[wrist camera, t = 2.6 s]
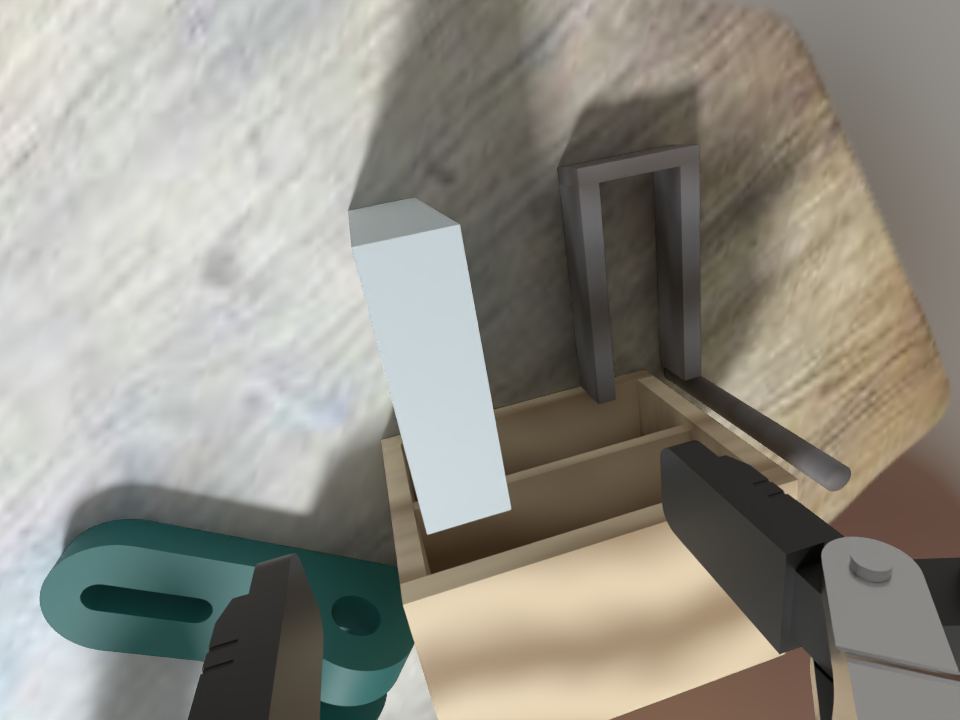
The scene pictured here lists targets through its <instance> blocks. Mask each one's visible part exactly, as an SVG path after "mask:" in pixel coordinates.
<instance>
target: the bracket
mask: <svg viewBox="0 0 960 720" xmlns="http://www.w3.org/2000/svg"><path fill="white" fill-rule="evenodd" d="M293 553H296V554H297V555H298V557H299V558H300V561H301V563H302V566H303V568H304V571H305V574H306V576H307V579H308V582H309V584H310V587H311V590H312V592H313V595H314V597H315V600H316V603H317V605H318V608H319V611H320V615H321V620H322V626H323V661H322V681H321V701H320V720H378V718H379V716H380V714H381V712H382V710H383V707H384V705H385V701H386V697H387V692H388V691H389V690H390V689H391V688H392V687H393V685H394V684H395V682H396V681H397V679H398V676H399V674H400V672H401V670H402V668H403V666H404V664H405V662H406V660H407V658H408V656H409V654H410V652H411V650H412V648H413V645H414V640H413V636H412V633H411V630H410V627H409V623H408V620H407V617H406V614H405V610H404V607H403V602H402V595H401V587H400V580H399V572H398V567H396V566H390V565H385V564H380V563H374V562H369V561H363V560H358V559H352V558H347V557H342V556H336V555H331V554H325V553H320V552H315V551H309V550H304V549H298V548H293V547H288V546H282V545H277V544H271V543H266V542H260V541H255V540H250V539H244V538H239V537H233V536H228V535H223V534H217V533H212V532H206V531H201V530H196V529H190V528H185V527H179V526H174V525H168V524H163V523H158V522H152V521H146V520H137V519H124V520H115V521H110V522H106V523H102V524H99V525H97V526H94V527H92V528H90V529H88V530H86V531H85V532H83V533H81V534H80V535H79V536H77V537H76V538H75V539H74V540H73V541H72V542H71V543H70V544H69V546H68V547H67V548H66V550H65V551H64V553H63V554H62V555H61V557H60V558H59V560H58V561H57V562H56V564H55V565H54V567H53V568H52V570H51V571H50V572H49V574H48V575H47V577H46V579H45V580H44V582H43V585H42V587H41V591H40V606H41V610H42V613H43V615H44V617H45V619H46V621H47V622H48V623H49V625H50V626H51V627H52V628H53V629H54V630H55V631H56V632H57V633H59V634H60V635H61V636H63V637H64V638H66V639H68V640H69V641H71V642H73V643H76V644H78V645H81V646H84V647H87V648H92V649H97V650H104V651H113V652H122V653H132V654H141V655H150V656H160V657H169V658H179V659H188V660H197V661H205V657H206V654H207V653H209V649H208V647H209V643H210V640H211V636H212V633H213V629H214V626H215V623H216V621H217V620H218V618H219V617H220V616H221V614H222V613H223V611H224V610H225V608H226V607H227V606H228V604H229V603H230V601H231V600H232V598H236V597H239V596H242V595H246V594H249V590H250V586H251V581H252V577H253V572H254V569H255V566H256V565H257V564H258V563H261V562H265V561H268V560H272V559H275V558H279V557H282V556H286V555H289V554H293Z"/></svg>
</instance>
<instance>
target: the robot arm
mask: <svg viewBox="0 0 960 720" xmlns="http://www.w3.org/2000/svg"><path fill="white" fill-rule="evenodd" d="M660 466H661V489H662V507H663V512H664V515H665V518H666V520H667V523H668V525H669V526H670V528H671V530H672V531H673V533H674V534H675V535H676V536H677V537H678V538H679V540H680V541H681V542H682V543H683V544H684V545H685V547H686V548H687V549H688V550H689V551H690V552H691V553H692V555H693V556H694V557H695V558H696V559H697V560H698V561H699V563H700V564H701V565H702V566H703V567H704V568H705V569H706V571H707V572H708V573H709V574H710V575H711V576H712V577H713V579H714V580H715V581H716V582H717V583H718V584H719V586H720V587H721V588H722V589H723V590H724V591H725V592H726V594H727V595H728V596H729V597H730V598H731V599H732V600H733V602H734V603H735V604H736V605H737V606H738V607H739V608H740V610H741V611H742V612H743V613H744V614H745V615H746V616H747V618H748V619H749V620H750V621H751V622H752V623H753V625H754V626H755V627H756V628H757V629H758V630H759V631H760V633H761V634H762V635H763V636H764V637H765V638H766V639H767V641H768V642H769V643H770V644H771V645H772V646H773V647H774V649H775V650H776V651H777V652H778V653H779V654H782V653H785V652H787V651H790V650H793V649H796V648H799V647H802V648H803V649H804V650H805V651H806V652H807V653H808V654H809V655H810V656H811V662H810V672H811V681H812V690H813V699H814V707H815V716H816V720H960V558H938V559H937V558H936V559H911V558H910V557H909V556H908V555H906V554H905V553H904V552H902V551H900V550H898V549H897V548H895V547H893V546H890V545H888V544H886V543H883V542H880V541H877V540H873V539H868V538H863V537H844V536H843V535H841V534H840V533H839V532H838V531H836V530H835V529H834V528H832V527H831V526H830V525H828V524H827V523H826V522H824V521H823V520H822V519H820V518H819V517H818V516H817V515H815V514H814V513H813V512H811V511H810V510H809V509H807V508H806V507H805V506H803V505H802V504H801V503H799V502H798V501H797V500H795V499H794V498H793V497H792V496H790V495H789V494H785V493H784V490H782V489H781V488H780V487H778V486H777V485H776V484H774V483H773V482H769V480H768V478H767V477H765V476H764V475H763V474H761V473H760V472H759V471H757V470H756V469H755V468H753V467H752V466H751V465H749V464H747V463H744V462H742V461H739V460H737V459H734V458H732V457H729V456H727V455H724V456H721V457H718V456H717V455H716V454H715V453H713V452H712V451H711V450H710V449H708V448H707V447H706V446H705V445H703V444H702V443H701V442H699V441H697V440H692V441H688V442H685V443H681V444H678V445H674V446H671V447H667V448H664V449H663V450H662V451H661V454H660ZM208 649H209V653H207V654H206V657H205V661H204V664H203V668H202V670H203V674H201V675H200V678H199V682H198V685H197V689H196V692H195V696H194V700H193V703H192V707H191V710H190V714H189V717H188V720H320V701H321V681H322V661H323V626H322V620H321V615H320V611H319V608H318V605H317V603H316V600H315V597H314V595H313V592H312V590H311V587H310V584H309V582H308V579H307V576H306V574H305V571H304V568H303V566H302V563H301V561H300V558H299V557H298V555H297V554H296V553H293V554H289V555H286V556H282V557H279V558H275V559H272V560H268V561H265V562H261V563H258V564H257V565H256V566H255V569H254V572H253V577H252V581H251V586H250V590H249V594H246V595H242V596H239V597H236V598H232V600H231V601H230V603H229V604H228V606H227V607H226V608H225V610H224V611H223V613H222V614H221V616H220V617H219V618H218V620H217V621H216V623H215V626H214V629H213V633H212V636H211V640H210V643H209V647H208Z"/></svg>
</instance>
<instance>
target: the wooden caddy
mask: <svg viewBox="0 0 960 720" xmlns="http://www.w3.org/2000/svg"><path fill="white" fill-rule="evenodd" d="M649 172H653V176H654V201H655V227H656V252H657V277H658V302H659V327H660V353H661V365H662V366H663V367H665V371H664V374H665V377H666V378H667V379H669V380H670V381H672V382H673V383H674V384H676V385H677V386H679V387H680V388H682V389H683V390H685V391H686V392H687V393H689V394H690V395H692V396H693V397H695V398H696V399H698V400H699V401H700V402H702V403H703V404H705V405H706V406H708V407H709V408H711V409H712V410H713V411H715V412H716V413H718V414H719V415H721V416H722V417H724V418H725V419H726V420H728V421H729V422H731V423H732V424H734V425H735V426H736V427H738V428H739V429H741V430H742V431H744V432H745V433H747V434H748V435H749V436H751V437H752V438H754V439H755V440H757V441H758V442H760V443H761V444H762V445H764V446H765V447H767V448H768V449H770V450H771V451H773V452H774V453H775V454H777V455H778V456H780V457H781V458H783V459H784V460H786V461H787V462H788V463H790V464H791V465H793V466H794V467H796V468H797V469H799V470H800V471H801V472H803V473H804V474H806V475H807V476H809V477H810V478H812V479H813V480H814V481H816V482H817V483H819V484H820V485H822V486H823V487H825V488H826V489H827V490H829V491H837V490H840V489H841V488H843V487H844V486H845V485H846V484H847V482H848V481H849V479H850V476H851V471H850V469H849V468H848V467H847V466H845V465H844V464H842V463H841V462H839V461H837V460H836V459H834V458H833V457H831V456H829V455H828V454H826V453H824V452H823V451H821V450H820V449H818V448H816V447H815V446H813V445H812V444H810V443H808V442H807V441H805V440H803V439H802V438H800V437H799V436H797V435H795V434H794V433H792V432H791V431H789V430H787V429H786V428H784V427H783V426H781V425H779V424H778V423H776V422H774V421H773V420H771V419H770V418H768V417H766V416H765V415H763V414H762V413H760V412H758V411H757V410H755V409H753V408H752V407H750V406H749V405H747V404H745V403H744V402H742V401H741V400H739V399H737V398H736V397H734V396H733V395H731V394H729V393H728V392H726V391H724V390H723V389H721V388H720V387H718V386H716V385H715V384H713V383H712V382H710V381H708V380H707V379H705V378H703V377H702V376H701V315H700V184H699V144H692V145H668V146H663V147H658V148H653V149H648V150H643V151H638V152H633V153H628V154H623V155H618V156H613V157H608V158H603V159H598V160H593V161H588V162H583V163H578V164H573V165H568V166H563V167H558V177H559V186H560V196H561V205H562V215H563V224H564V234H565V243H566V252H567V262H568V271H569V281H570V290H571V300H572V309H573V318H574V328H575V337H576V347H577V356H578V366H579V375H580V384H581V386H580V387H576V388H573V389H569V390H565V391H562V392H558V393H554V394H550V395H547V396H543V397H539V398H535V399H532V400H528V401H524V402H521V403H517V404H513V405H509V406H506V407H502V408H498V409H494V416H495V421H496V427H497V432H498V438H499V444H500V449H501V455H502V460H503V466H504V471H505V477H506V482H507V488H508V493H509V499H510V504H511V510H509V511H505V512H502V513H499V514H495V515H492V516H489V517H485V518H482V519H478V520H475V521H472V522H468V523H465V524H462V525H458V526H455V527H452V528H448V529H445V530H442V531H438V532H435V533H432V534H428V535H427V532H426V528H425V525H424V521H423V517H422V513H421V509H420V506H419V502H418V498H417V494H416V490H415V487H414V483H413V479H412V475H411V471H410V468H409V464H408V460H407V456H406V452H405V449H404V445H403V441H402V437H401V435H397V436H394V437H390V438H386V439H382V440H381V443H382V451H383V459H384V466H385V474H386V481H387V489H388V496H389V504H390V512H391V519H392V527H393V534H394V542H395V549H396V557H397V565H398V572H399V580H400V587H401V595H402V602H403V607H404V610H405V614H406V617H407V620H408V623H409V627H410V630H411V633H412V636H413V640H414V643H415V646H416V650H417V653H418V656H419V659H420V663H421V666H422V669H423V672H424V676H425V679H426V682H427V685H428V689H429V692H430V695H431V699H432V702H433V705H434V708H435V712H436V715H437V718H438V720H609V719H612V718H615V717H617V716H620V715H622V714H625V713H628V712H631V711H633V710H636V709H639V708H641V707H644V706H647V705H649V704H652V703H655V702H658V701H660V700H663V699H666V698H668V697H671V696H674V695H676V694H679V693H681V692H684V691H687V690H690V689H692V688H695V687H698V686H700V685H703V684H706V683H709V682H711V681H714V680H717V679H719V678H722V677H724V676H727V675H730V674H733V673H735V672H738V671H741V670H744V669H746V668H748V667H752V666H754V665H757V664H760V663H762V662H765V661H768V660H770V659H773V658H776V657H778V656H781V655H784V654H785V653H782V654H779V653H778V652H777V651H776V650H775V649H774V647H773V646H772V645H771V644H770V643H769V642H768V641H767V639H766V638H765V637H764V636H763V635H762V634H761V633H760V631H759V630H758V629H757V628H756V627H755V626H754V625H753V623H752V622H751V621H750V620H749V619H748V618H747V616H746V615H745V614H744V613H743V612H742V611H741V610H740V608H739V607H738V606H737V605H736V604H735V603H734V602H733V600H732V599H731V598H730V597H729V596H728V595H727V594H726V592H725V591H724V590H723V589H722V588H721V587H720V586H719V584H718V583H717V582H716V581H715V580H714V579H713V577H712V576H711V575H710V574H709V573H708V572H707V571H706V569H705V568H704V567H703V566H702V565H701V564H700V563H699V561H698V560H697V559H696V558H695V557H694V556H693V555H692V553H691V552H690V551H689V550H688V549H687V548H686V547H685V545H684V544H683V543H682V542H681V541H680V540H679V538H678V537H677V536H676V535H675V534H674V533H673V531H672V530H671V528H670V526H669V525H668V523H667V520H666V518H665V515H664V512H663V507H662V489H661V466H660V454H661V451H662V450H663V449H664V448H667V447H671V446H674V445H678V444H681V443H685V442H688V441H692V440H697V441H699V442H701V443H702V444H703V445H705V446H706V447H707V448H708V449H710V450H711V451H712V452H713V453H715V454H716V455H717V456H718V457H721V456H724V455H727V456H729V457H732V458H734V459H737V460H739V461H742V462H744V463H747V464H749V465H751V466H752V467H753V468H755V469H756V470H757V471H759V472H760V473H761V474H763V475H764V476H765V477H767V478H768V480H769V482H773V483H774V484H776V485H777V486H778V487H780V488H781V489H782V490H784V493H785V494H789V495H790V496H792V497H793V498H794V499H795V500H797V492H798V479H797V478H796V477H794V476H793V475H792V474H790V473H789V472H787V471H786V470H785V469H783V468H782V467H780V466H779V465H778V464H776V463H775V462H773V461H772V460H771V459H769V458H768V457H766V456H765V455H764V454H762V453H761V452H759V451H758V450H757V449H755V448H754V447H752V446H751V445H750V444H748V443H747V442H745V441H744V440H743V439H741V438H740V437H738V436H737V435H736V434H734V433H733V432H731V431H730V430H729V429H727V428H726V427H724V426H723V425H722V424H720V423H719V422H717V421H716V420H715V419H713V418H712V417H710V416H709V415H708V414H706V413H705V412H703V411H702V410H701V409H699V408H698V407H696V406H695V405H694V404H692V403H691V402H689V401H688V400H687V399H685V398H684V397H682V396H681V395H680V394H678V393H677V392H675V391H674V390H673V389H671V388H670V387H668V386H667V385H666V384H664V383H663V382H661V381H660V380H659V379H657V378H656V377H654V376H653V375H652V374H650V373H649V372H647V371H646V370H645V369H644V370H640V371H636V372H632V373H629V374H625V375H621V376H618V377H614V368H613V355H612V342H611V330H610V317H609V304H608V291H607V278H606V265H605V253H604V240H603V227H602V214H601V201H600V189H599V183H601V182H605V181H610V180H615V179H620V178H625V177H630V176H634V175H639V174H644V173H649Z"/></svg>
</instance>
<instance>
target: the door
mask: <svg viewBox="0 0 960 720" xmlns="http://www.w3.org/2000/svg"><path fill="white" fill-rule="evenodd" d="M348 215H349V226H350V237H351V248H352V251H353V255H354V259H355V263H356V267H357V270H358V274H359V278H360V282H361V286H362V289H363V293H364V297H365V301H366V305H367V308H368V312H369V316H370V320H371V323H372V327H373V331H374V335H375V339H376V342H377V346H378V350H379V354H380V358H381V361H382V365H383V369H384V373H385V377H386V380H387V384H388V388H389V392H390V396H391V399H392V403H393V407H394V411H395V415H396V418H397V422H398V426H399V430H400V434H401V437H402V441H403V445H404V449H405V452H406V456H407V460H408V464H409V468H410V471H411V475H412V479H413V483H414V487H415V490H416V494H417V498H418V502H419V506H420V509H421V513H422V517H423V521H424V525H425V528H426V532H427V535H428V534H432V533H435V532H438V531H442V530H445V529H448V528H452V527H455V526H458V525H462V524H465V523H468V522H472V521H475V520H478V519H482V518H485V517H489V516H492V515H495V514H499V513H502V512H505V511H509V510H511V504H510V499H509V493H508V488H507V482H506V477H505V471H504V466H503V460H502V455H501V449H500V444H499V438H498V432H497V427H496V421H495V416H494V410H493V405H492V399H491V394H490V388H489V383H488V377H487V372H486V366H485V361H484V355H483V350H482V344H481V339H480V333H479V328H478V322H477V316H476V311H475V305H474V300H473V294H472V289H471V283H470V278H469V272H468V267H467V261H466V256H465V250H464V245H463V239H462V234H461V228H460V224H458V223H457V222H455V221H453V220H452V219H450V218H448V217H447V216H445V215H443V214H442V213H440V212H438V211H437V210H435V209H433V208H432V207H430V206H428V205H427V204H425V203H423V202H422V201H420V200H418V199H417V198H415V197H414V198H409V199H404V200H399V201H394V202H389V203H384V204H379V205H374V206H369V207H364V208H359V209H354V210H349V211H348Z"/></svg>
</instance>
